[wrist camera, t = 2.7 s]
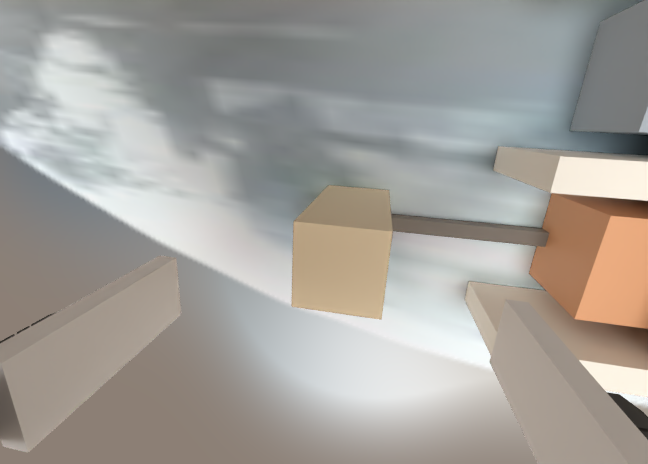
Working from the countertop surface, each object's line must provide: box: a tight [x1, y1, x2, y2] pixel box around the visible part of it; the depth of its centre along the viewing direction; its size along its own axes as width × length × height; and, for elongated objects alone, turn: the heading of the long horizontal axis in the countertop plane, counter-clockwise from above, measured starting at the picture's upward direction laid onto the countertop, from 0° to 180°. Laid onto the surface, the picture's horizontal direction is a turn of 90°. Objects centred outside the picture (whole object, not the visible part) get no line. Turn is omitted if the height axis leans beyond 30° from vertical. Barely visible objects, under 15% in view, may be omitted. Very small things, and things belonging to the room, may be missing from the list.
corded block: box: [292, 185, 648, 329], centre depth 19 cm, size 6×21×10 cm, turn 87°
